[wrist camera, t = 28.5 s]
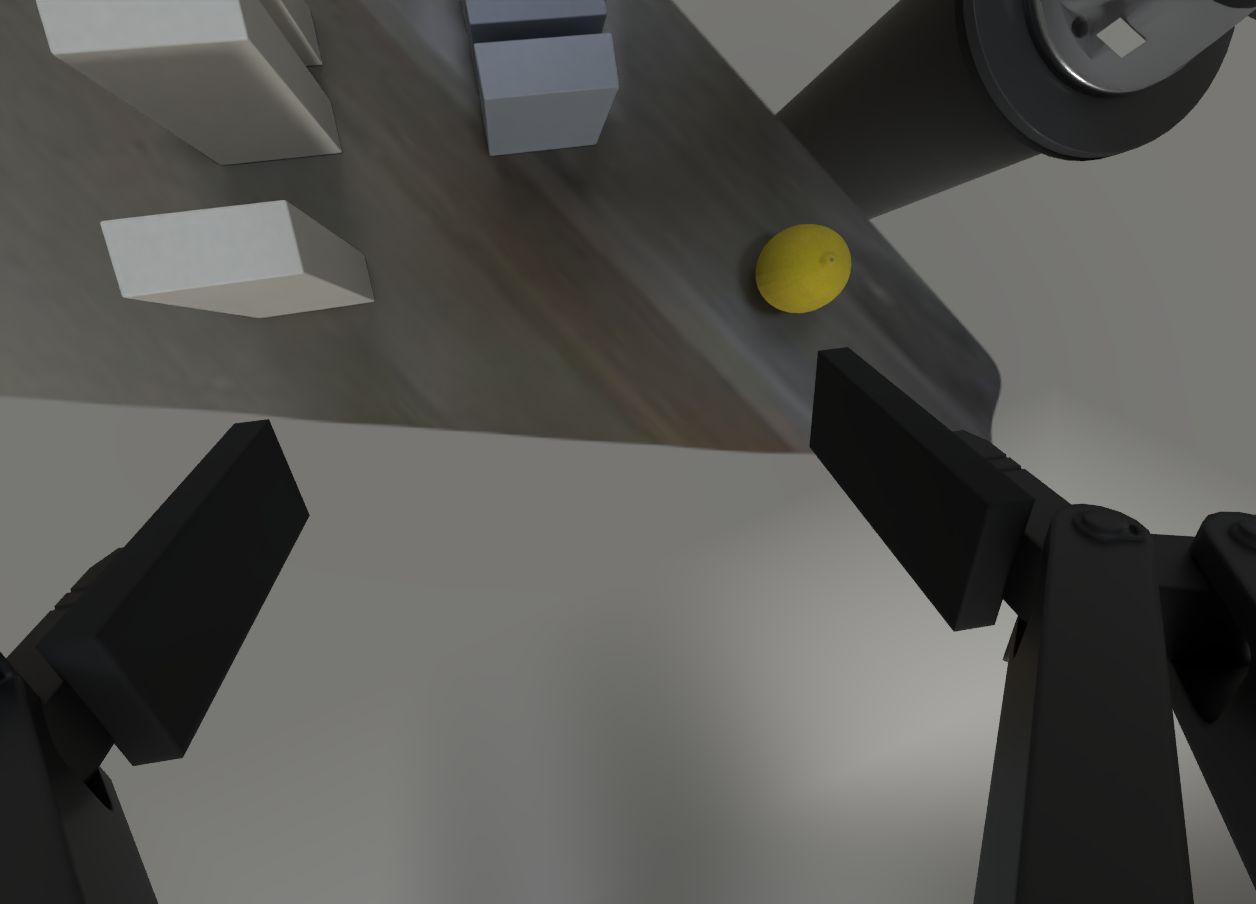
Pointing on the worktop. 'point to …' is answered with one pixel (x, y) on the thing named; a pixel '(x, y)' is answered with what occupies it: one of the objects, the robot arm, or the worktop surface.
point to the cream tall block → (237, 260)
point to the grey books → (541, 72)
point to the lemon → (803, 268)
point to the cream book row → (205, 70)
